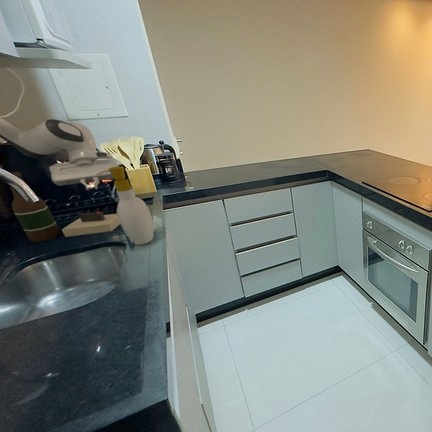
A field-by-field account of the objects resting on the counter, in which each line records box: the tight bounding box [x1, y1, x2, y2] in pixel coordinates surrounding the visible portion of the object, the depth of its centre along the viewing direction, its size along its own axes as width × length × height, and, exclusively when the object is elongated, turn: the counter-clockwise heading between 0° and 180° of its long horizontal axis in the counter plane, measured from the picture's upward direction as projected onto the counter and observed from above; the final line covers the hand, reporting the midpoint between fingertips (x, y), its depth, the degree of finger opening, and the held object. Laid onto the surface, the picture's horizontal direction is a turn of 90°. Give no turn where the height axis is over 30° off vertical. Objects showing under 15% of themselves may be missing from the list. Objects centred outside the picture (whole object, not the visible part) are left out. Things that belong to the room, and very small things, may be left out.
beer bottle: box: [9, 171, 61, 243], centre depth 101 cm, size 8×8×24 cm
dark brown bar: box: [78, 211, 105, 222], centre depth 111 cm, size 7×1×3 cm, turn 99°
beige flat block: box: [61, 213, 121, 238], centre depth 112 cm, size 14×11×3 cm
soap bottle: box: [97, 165, 154, 246], centre depth 98 cm, size 14×9×26 cm, turn 34°
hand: (92, 189), depth 116 cm, fingers closed
